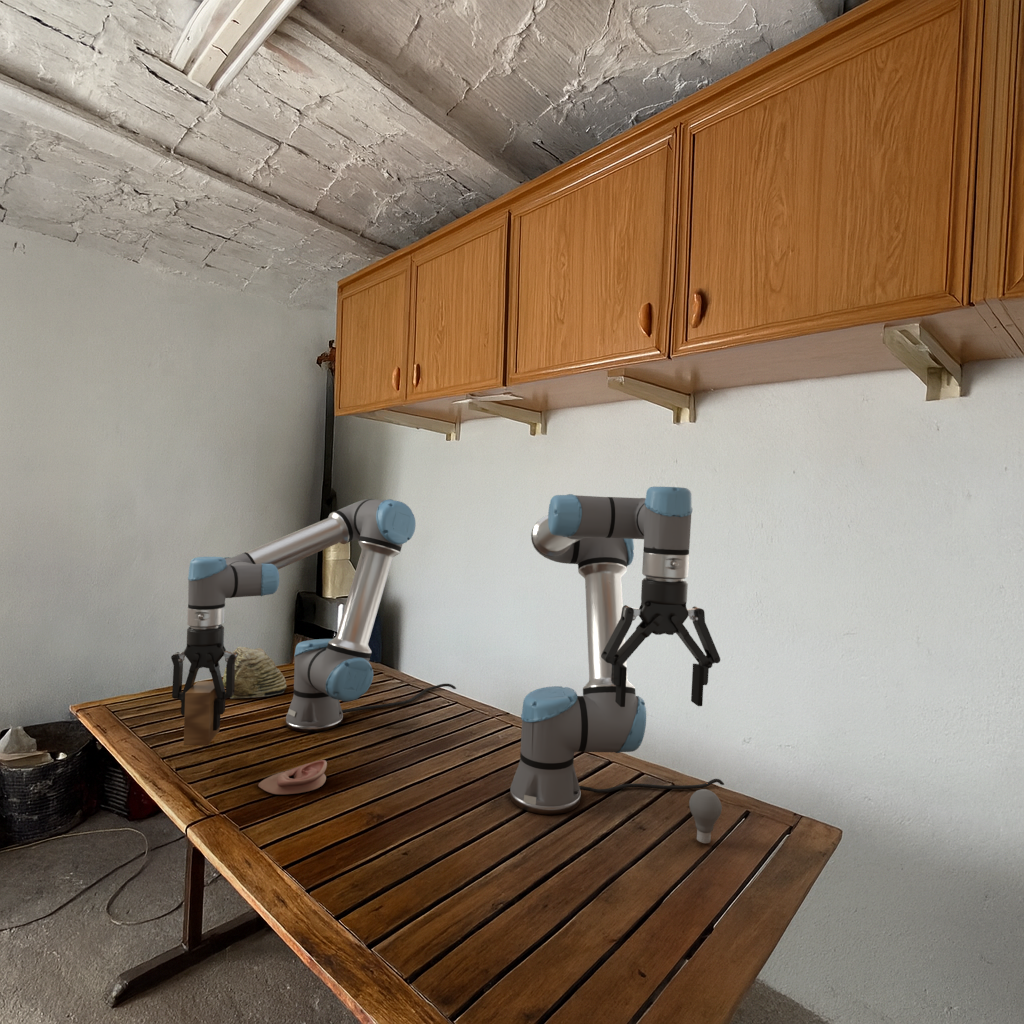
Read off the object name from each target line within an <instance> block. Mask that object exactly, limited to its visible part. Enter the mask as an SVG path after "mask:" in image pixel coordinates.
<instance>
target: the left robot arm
mask: <svg viewBox="0 0 1024 1024" xmlns="http://www.w3.org/2000/svg"><path fill="white" fill-rule="evenodd" d="M416 526H417V525H416V517H415V514H414V512H413V510H412V508H411V507H410V506H408V504H406V503H404V502H402V501H401V500H394V499H390V498H389V499H378V498H377V499H375V498H366V499H361V500H358V501H356V502H354V503H351V504H349V505H348V504H347V505H346V506H344V507H342V508H339V509H338V510H335V511H332V512H330V513H329V515H328V517H327V518H324V519H322V520H319V521H317V522H315V523H312V524H310V525H307V526H305V527H302V528H301V529H298V530H296V531H292V532H291V533H289V534H286V535H284V536H281V537H279V538H277V539H274V540H271V541H269V542H266V543H264V544H262V545H259V546H257V547H254V548H252V549H249V550H247V551H245V552H242V553H240V554H236V555H235V556H232V557H229V556H227V557H223V556H197V557H193V558H192V559H191V560H190V562H189V567H188V577H187V581H188V583H187V584H188V585H187V588H188V590H187V591H188V592H187V593H188V594H187V595H188V596H187V598H188V599H187V626H188V627H187V630H186V646H185V648H184V650H183V651H180V652H179V651H177V652H175V653H174V654H172V655H171V657H170V658H171V662H172V664H173V671H172V688H171V689H172V691H171V698H172V699H174V700H176V699H177V700H179V701H180V714H181V716H185V693H186V692H187V691H188V690H189V689H190V688H191V687H192V686H193V685H195V681H196V679H197V676H198V672H199V670H200V669H202V668H204V669H208V671H209V673H210V675H211V679H212V681H213V683H214V687H215V691H216V695H217V699H216V700H215V701H214V715H213V731H216V730H217V729H218V728H219V727H220V728H221V715H224V713H225V711H226V700H227V699H232V698H231V697H232V695H233V694H234V692H235V661H236V658H237V656H238V654H237V652H234V651H233V652H234V653H233V652H231V651H228V650H226V647H225V626H224V625H223V624H225V615H226V614H225V612H226V611H225V609H226V608H225V607H226V599H233V598H246V597H263V596H270V595H273V594H275V593H276V592H277V591H278V589H279V586H280V573H279V570H280V569H283V568H285V567H287V566H289V565H292V564H294V563H296V562H298V561H301V560H303V559H305V558H307V557H310V556H313V555H314V554H317V553H319V552H321V551H323V550H326V549H328V548H330V547H333V546H335V545H338V544H342V545H347V544H348V543H351V542H354V541H357V542H358V545H359V546H360V548H361V552H360V555H359V559H358V562H357V565H356V569H355V571H354V574H353V578H352V583H351V586H350V589H349V592H348V596H347V599H346V603H345V606H344V608H343V612H342V616H341V618H340V621H339V622H340V623H339V624H338V625H339V626H338V629H337V633H336V636H335V637H334V638H319V639H308V640H303V641H300V642H297V644H296V646H295V650H294V655H293V657H294V672H293V695H292V696H293V697H292V699H291V702H290V704H289V708H288V711H287V713H286V715H285V726H286V728H287V729H289V730H291V731H294V732H295V731H296V732H301V733H316V732H325V731H329V730H332V729H335V728H337V727H339V726H340V725H342V723H343V722H344V714H345V713H351V712H353V713H354V712H358V711H367V710H374V709H382V708H388V707H389V708H390V707H395V706H400V705H406V704H409V703H411V702H413V701H415V700H417V699H418V698H420V697H421V696H423V695H425V693H427V692H429V691H433V690H436V689H439V688H444V687H448V688H451V689H452V690H456V689H457V687H456V686H455V685H453V684H451V683H441V684H437V685H433V686H430V687H427V688H424V689H423V690H421V691H420V692H419V693H417V694H416V695H414V696H413V697H411V698H409V699H406V700H405V699H404V700H402V701H396V702H389V703H382V704H374V705H367V706H366V705H365V706H359V707H353V708H345V709H342V706H341V702H345V703H347V702H353V701H357V700H358V699H359V698H360V697H362V696H364V694H366V693H367V692H368V690H369V689H370V687H371V685H372V683H373V681H374V669H373V667H372V664H371V663H370V661H371V656H372V649H371V648H370V646H369V642H370V638H371V635H372V632H373V630H374V629H373V628H374V625H375V621H376V617H377V614H378V611H379V608H380V603H381V601H382V597H383V594H384V590H385V586H386V583H387V580H388V577H389V574H390V569H391V565H392V562H393V559H394V558H395V557H397V556H398V555H400V554H401V551H402V547H403V545H404V544H406V543H407V542H408V541H410V540H411V539H412V538H413V536H414V534H415V531H416ZM185 657H186V658H185ZM223 657H224V661H225V662H226V666H225V668H226V688H225V687H224V684H223V677H222V673H221V668H220V667H221V666H220V661H221V660H222V658H223ZM185 659H187V660H188V661H189V663H190V666H189V670H188V674H187V677H186V681H185V683H184V684H185V685H184V686H183V675H184V674H183V673H184V661H185ZM183 687H184V688H183ZM340 701H341V702H340Z"/></svg>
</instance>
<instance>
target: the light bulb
mask: <svg viewBox="0 0 1024 1024" xmlns="http://www.w3.org/2000/svg"><path fill="white" fill-rule="evenodd" d="M688 802H689V803H688V806H689V811H690V813H691V815H692V817H693V820H694V822H695V827H696V840H697V841H698V842H699V843H701V844H709V843H711V840H712V831H713V830H714V826H715V824H716V822H717V821H718V820H719V819H720V816H721V815H722V810H723V805H722V802H721V800H720V798H719V796H718V795H717V794H716V793H715V792H714V791H713V790H710V789H706V788H699V789H696V791H694V792H693V793H692V794H691V796H690V797H689V801H688Z"/></svg>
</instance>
